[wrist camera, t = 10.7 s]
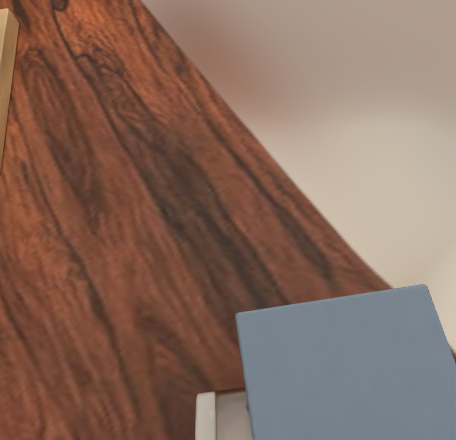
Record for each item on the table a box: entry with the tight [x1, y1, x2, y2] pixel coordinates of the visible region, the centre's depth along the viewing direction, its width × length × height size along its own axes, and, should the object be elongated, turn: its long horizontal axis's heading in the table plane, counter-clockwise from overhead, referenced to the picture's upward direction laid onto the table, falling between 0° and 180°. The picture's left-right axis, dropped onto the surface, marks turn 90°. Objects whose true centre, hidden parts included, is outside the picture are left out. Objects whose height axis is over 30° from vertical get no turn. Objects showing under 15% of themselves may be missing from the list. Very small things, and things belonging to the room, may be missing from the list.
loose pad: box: [235, 284, 456, 440], centre depth 10 cm, size 4×5×10 cm
